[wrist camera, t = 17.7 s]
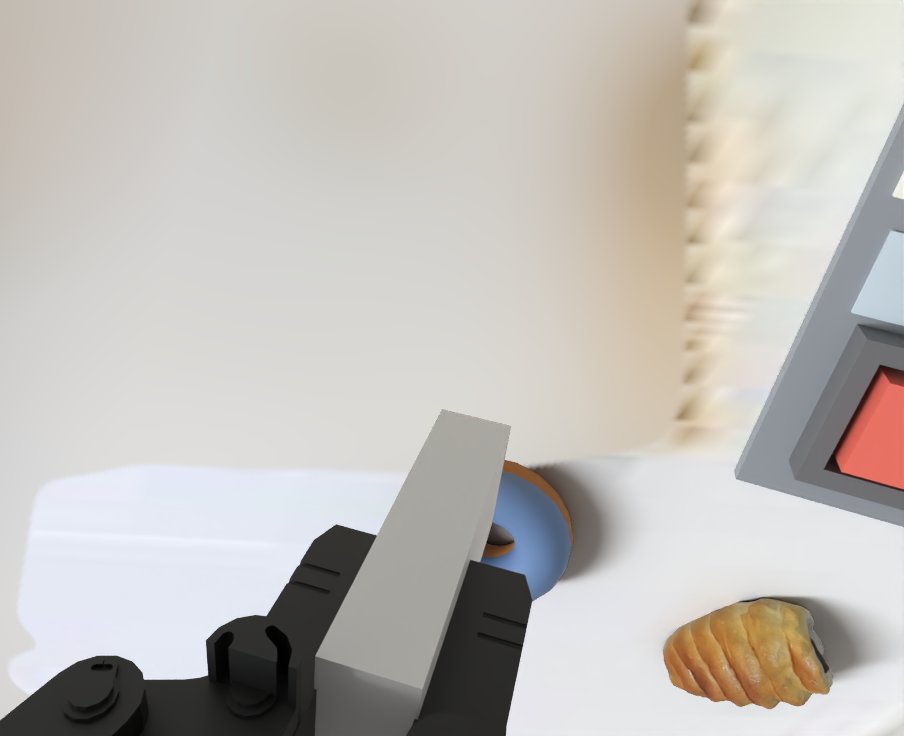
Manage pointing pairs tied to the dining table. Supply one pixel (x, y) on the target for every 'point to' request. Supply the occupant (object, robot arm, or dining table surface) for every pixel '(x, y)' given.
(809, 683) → the pastry
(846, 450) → the button
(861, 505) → the picture board
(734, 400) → the dining table surface
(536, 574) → the doughnut
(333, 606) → the robot arm
